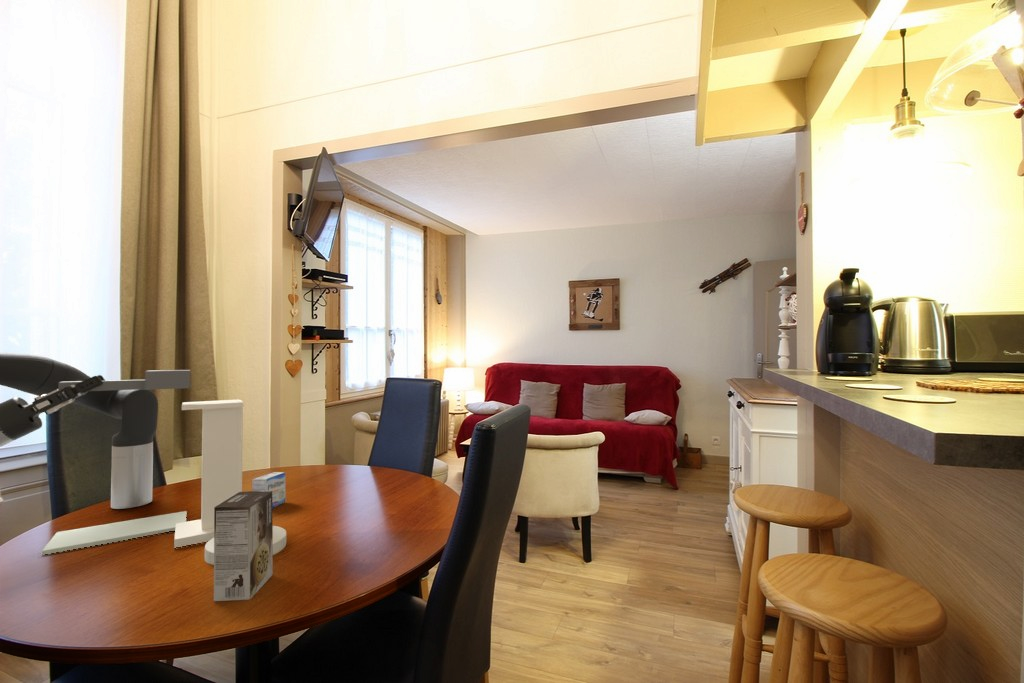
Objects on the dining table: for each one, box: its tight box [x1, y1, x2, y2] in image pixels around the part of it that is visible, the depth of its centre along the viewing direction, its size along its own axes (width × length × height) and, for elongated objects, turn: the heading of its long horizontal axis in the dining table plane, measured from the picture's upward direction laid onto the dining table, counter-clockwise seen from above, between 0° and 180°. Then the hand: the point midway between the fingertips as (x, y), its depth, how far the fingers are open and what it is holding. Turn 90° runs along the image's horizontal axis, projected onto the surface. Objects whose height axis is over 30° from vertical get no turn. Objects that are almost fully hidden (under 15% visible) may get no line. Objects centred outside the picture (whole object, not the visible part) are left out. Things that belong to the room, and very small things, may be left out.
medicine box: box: [252, 471, 286, 509], centre depth 129 cm, size 8×4×9 cm, turn 168°
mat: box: [41, 510, 188, 556], centre depth 110 cm, size 13×25×1 cm, turn 125°
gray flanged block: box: [58, 369, 191, 391], centre depth 102 cm, size 8×22×4 cm, turn 125°
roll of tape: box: [204, 525, 287, 566], centre depth 100 cm, size 16×15×3 cm
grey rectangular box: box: [213, 490, 274, 602], centre depth 83 cm, size 9×6×16 cm
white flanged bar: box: [173, 398, 244, 549], centre depth 110 cm, size 12×14×31 cm
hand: (101, 379), depth 99 cm, fingers closed on gray flanged block, 4 cm apart
